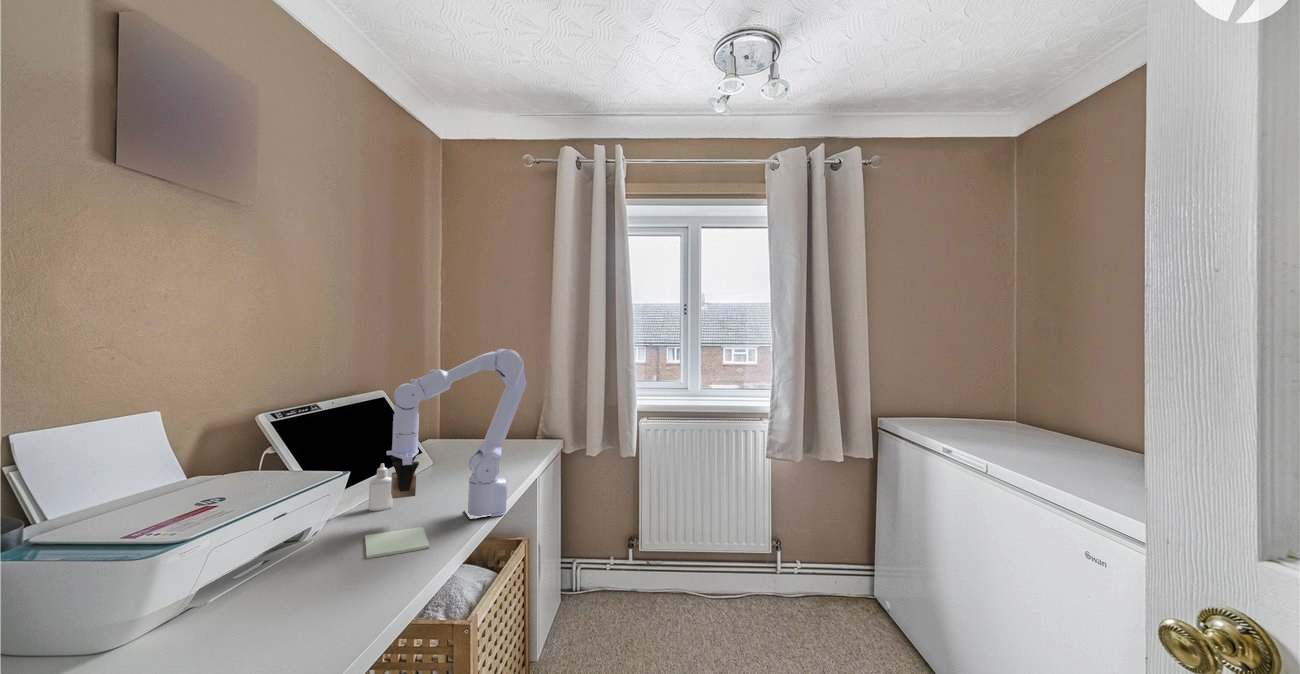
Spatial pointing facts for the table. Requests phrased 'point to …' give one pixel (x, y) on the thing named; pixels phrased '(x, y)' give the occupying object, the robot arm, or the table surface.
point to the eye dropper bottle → (380, 491)
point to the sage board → (395, 542)
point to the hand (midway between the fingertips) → (403, 487)
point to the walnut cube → (397, 494)
